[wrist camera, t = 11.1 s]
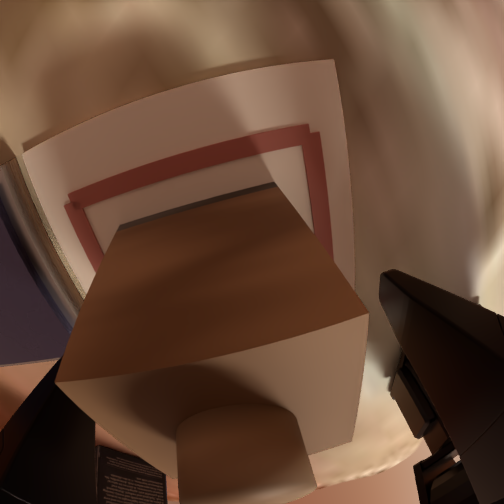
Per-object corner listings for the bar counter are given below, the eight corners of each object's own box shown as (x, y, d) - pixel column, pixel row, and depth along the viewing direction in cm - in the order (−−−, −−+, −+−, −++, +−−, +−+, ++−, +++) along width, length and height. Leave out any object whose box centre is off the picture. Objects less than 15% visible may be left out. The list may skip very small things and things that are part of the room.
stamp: (274, 181, 9) (422, 396, 3) (295, 304, 12) (369, 486, 5) (119, 225, 9) (35, 460, 3) (172, 335, 12) (176, 524, 5)
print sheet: (330, 59, 8) (335, 58, 7) (351, 337, 14) (354, 343, 13) (25, 151, 7) (20, 154, 7) (154, 387, 14) (154, 393, 13)
